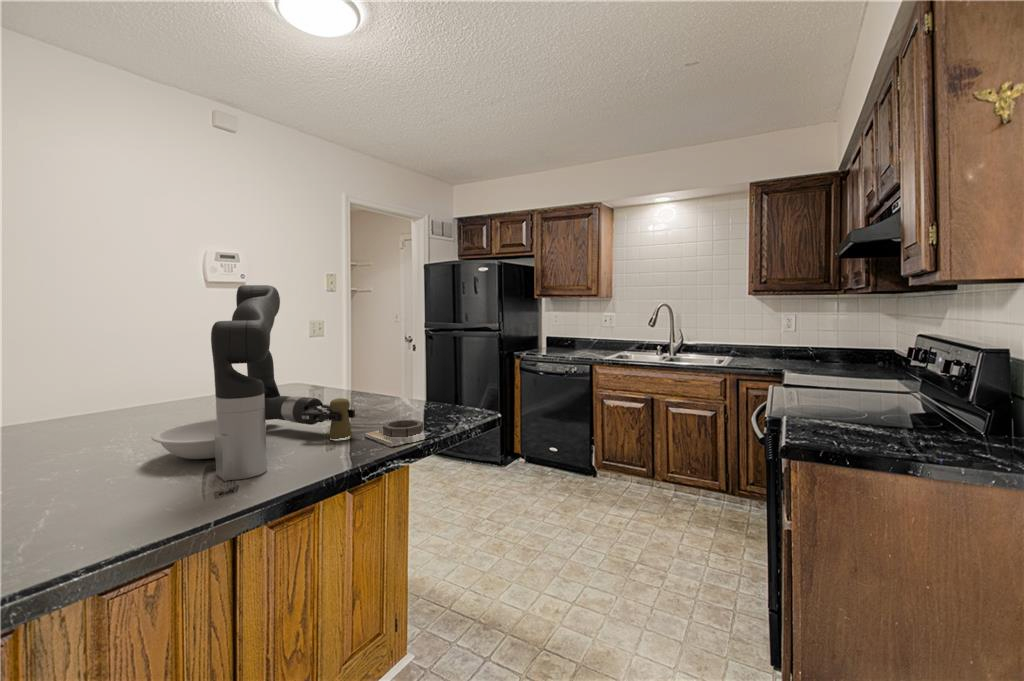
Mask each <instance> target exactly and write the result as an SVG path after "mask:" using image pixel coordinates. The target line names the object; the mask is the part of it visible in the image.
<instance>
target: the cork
mask: <svg viewBox="0 0 1024 681" xmlns="http://www.w3.org/2000/svg"><path fill="white" fill-rule="evenodd" d="M350 402H351V401H349V399H347V398H343V397H341V398H334V399H332V400H331V401H330V403H329V405H330V409H331V411H332V412H338V413H342V414H343V420H342V421H332V420H331V421H330V428H329V437H328V439H329V438H331V439H339V438H345V437H348V436H350V435H352V436H353V433H352V426H351V422H350V418H349V414H348V409H350V406H351V403H350Z"/></svg>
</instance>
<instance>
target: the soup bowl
mask: <svg viewBox="0 0 1024 681" xmlns="http://www.w3.org/2000/svg"><path fill="white" fill-rule="evenodd" d="M265 425H266V427H267V426H268V423H267V422H266V421H265ZM215 431H217V418H212V419H204V420H197V421H191V422H186V423H180V424H177V425H172V426H169V427H165V428H162V429H159V430H158V431H156V432H154V433H153V434H152V435H151V441H152V442H156V443H159V444H160V445H161V446H162V447H163V449H165V450H166V451H167V452H169V453H170V454H172V455H174V456H177V457H178V458H183V459H189V460H205V459H216V458H215V437H214V432H215Z"/></svg>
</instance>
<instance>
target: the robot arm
mask: <svg viewBox="0 0 1024 681" xmlns="http://www.w3.org/2000/svg"><path fill="white" fill-rule="evenodd" d="M235 297H236V298H235V299H236V308H235V310H234V311H233V314H232V316H231V320H220V321H219V320H218V321H216V322H214V324H213V325H212V327H211V332H210V342H211V343H210V344H211V346H210V347H211V355H212V363H213V371H214V372H213V375H214V391H215V393H214V394H215V410H216V411H215V412H216V419H217V431H215V432H214V437H215V458H214V459H215V474H216V476H218V477H219V478H220V479H221V480H222V481H224V482H226V481H231V480H232V481H236V480H242V479H243V480H244V479H245V480H246V479H251V478H254V477H257V476H258V477H259V476H260V475H262V474H264V473H266V472H267V471H268V457H267V434H266V433H267V430H266V428H267V426H266V425H265V422H266V421H270V420H280V421H286V422H287V421H288V422H291V423H295V424H303V425H309V426H311V425H315V424H317V423H323V422H331V420H332V421H342V420H343V414H342V413H338V412H332V411H331V409H330V403H329V404H328V403H323V402H322V401H321V400H320V399H319V398H316V397H308V396H307V397H306V396H289V395H288V396H287V395H281V393H280V391H279V389H278V385H277V383H276V380H275V370H274V369H275V367H274V365H275V364H274V359H273V355H272V353H271V351H270V345H271V332H272V330H273V327H274V324H275V320H276V317H277V315H278V313H279V311H280V306H281V297H280V294H279V291H278V290H277V288H276V287H274V285H270V284H269V285H267V284H266V285H265V284H255V285H253V284H249V285H248V284H244V285H243V284H242V285H240V286H238V288H237V291H236V296H235ZM236 364H246V370H247V375H245V374H243V373H241V372H239V371H237V370H236V369H235V368H234V367H233V365H236ZM348 414H349V419H353V418H355V417H356V410H355V409H352V408H349V409H348Z"/></svg>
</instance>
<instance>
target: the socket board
mask: <svg viewBox="0 0 1024 681" xmlns="http://www.w3.org/2000/svg"><path fill="white" fill-rule="evenodd" d="M423 426H424V421H420V420H417V419H398V420H392V421H387V422H385V423H384V424H383V425H382V430H383V433H382V434H383V435H386V436H389V437H408V436H413V435H416V434H420V433H421V432H422V431H423ZM365 434H366V435H369V436H372V437H375V438H378V439H381V440H384V441H386V442H389V443H393V442H392V441H390V440H391V439H390V440H388V439H387V440H386V439H384V436H383V435H382V434H381V433H379V430H375V431H374V430H373V431H370V432H365V433H364V435H365Z"/></svg>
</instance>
